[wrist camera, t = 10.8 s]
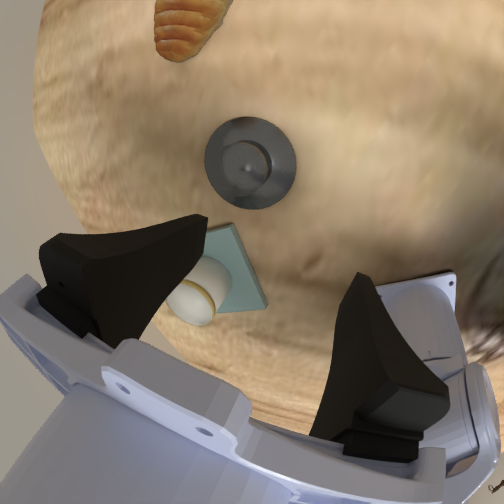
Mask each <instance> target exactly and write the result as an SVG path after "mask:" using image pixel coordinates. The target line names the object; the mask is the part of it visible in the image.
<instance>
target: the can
mask: <svg viewBox="0 0 504 504" xmlns="http://www.w3.org/2000/svg"><path fill="white" fill-rule="evenodd" d="M231 288H232V279H231V276H230V273H229V272H228V270H227V269H226V268H225V267H224V266H223V265H222V264H221V263H220V262H218V261H217V260H215V259H213V258H210V257H201V258H200V259H199V261H198V262H197V264H196V265H195V267H194V268H193V269H192V270H191V272H190V273H189V274H188V275H187V276H186V277H185V278H184V279H183V280H182V282H181V283H180V284H179V285H178V286H177V287H176V288H175V289H174V290H173V291H172V293H171V294H170V295H169V296H168V297H167V298H166V302H167V304H168V306H169V308H170V309H171V311H172V312H173V313H174V314H175V315H176V316H177V317H179V318H180V319H181V320H183V321H184V322H186V323H189V324H191V325H195V326H204V325H207V324H209V323H210V322H211V320H212V319H213V317H214V316H215V313H216V311H217V310H218V308H219V307H220V305H221V304H222V302H223V301H224V299H225V298H226V296H227V295H228V293H229V291H230V290H231Z"/></svg>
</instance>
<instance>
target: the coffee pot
mask: <svg viewBox="0 0 504 504" xmlns="http://www.w3.org/2000/svg"><path fill="white" fill-rule="evenodd" d="M489 486H491V485H489ZM489 486H488V488H489V490H490V491H491V492H492V493H494V492H496V491H497V490H499V488H500V487H501V486H504V480H502V481H501V483H500V484H499V485H498V486H496V487H495V488H493V486H491V487H492V488H493V490H491V489H490V487H489Z"/></svg>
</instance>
